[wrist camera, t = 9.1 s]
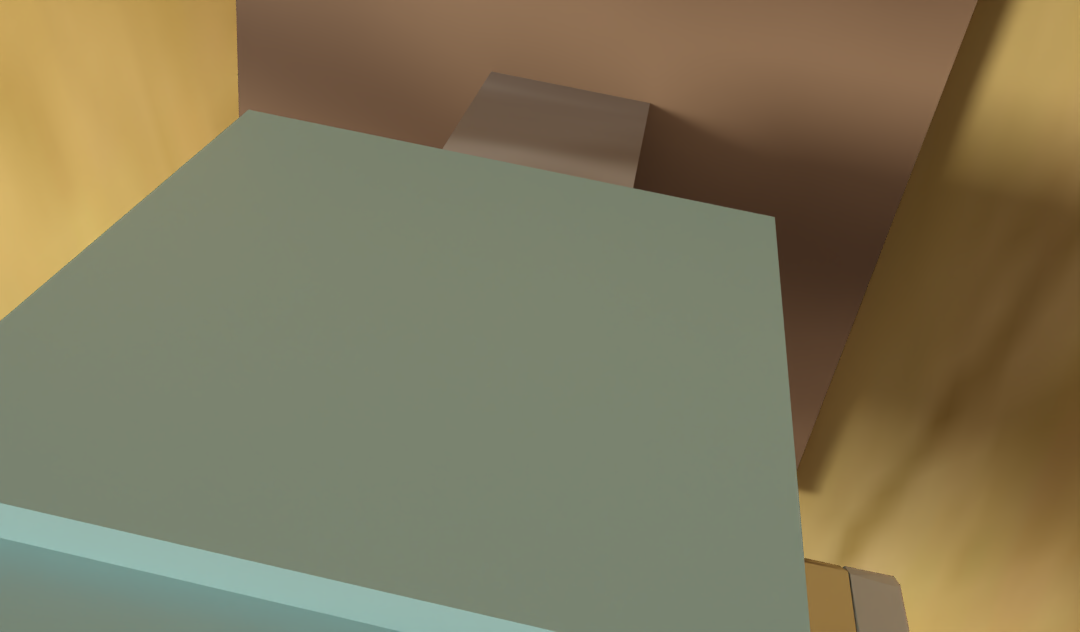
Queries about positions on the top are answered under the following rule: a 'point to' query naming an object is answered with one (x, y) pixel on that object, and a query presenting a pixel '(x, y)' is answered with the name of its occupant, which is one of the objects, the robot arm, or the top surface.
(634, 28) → the post board
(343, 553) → the pale teal box
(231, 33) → the top surface
